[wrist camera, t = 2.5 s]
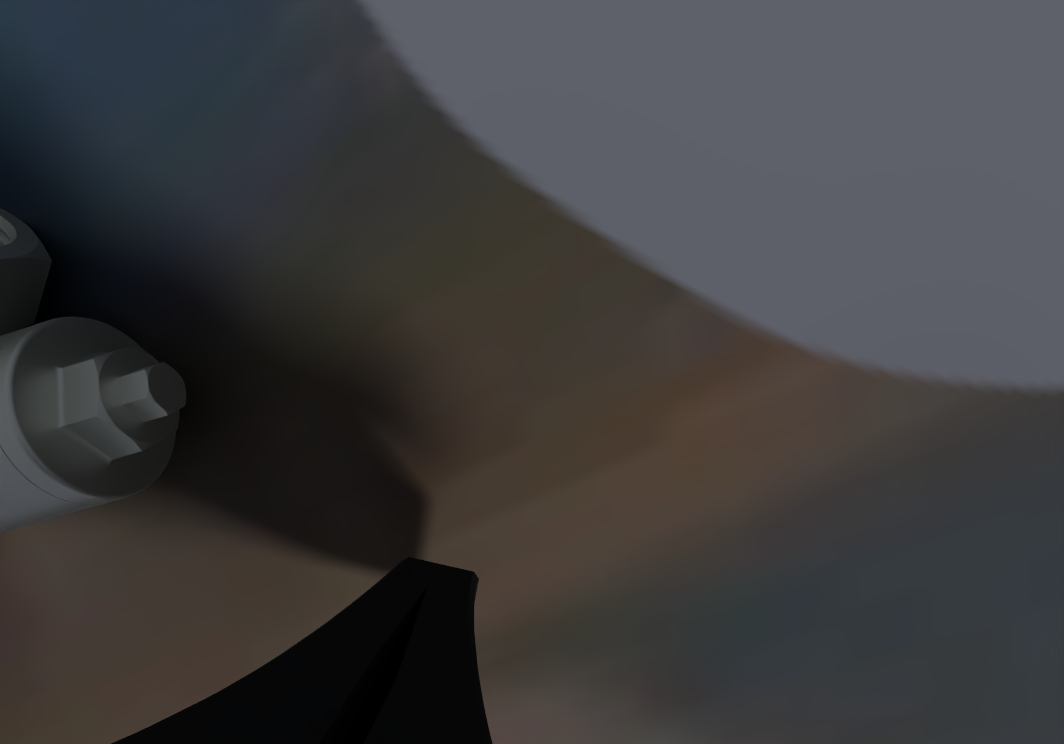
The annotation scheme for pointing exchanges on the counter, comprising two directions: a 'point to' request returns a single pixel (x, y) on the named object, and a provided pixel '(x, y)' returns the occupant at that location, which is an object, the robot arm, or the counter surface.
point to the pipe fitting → (72, 400)
